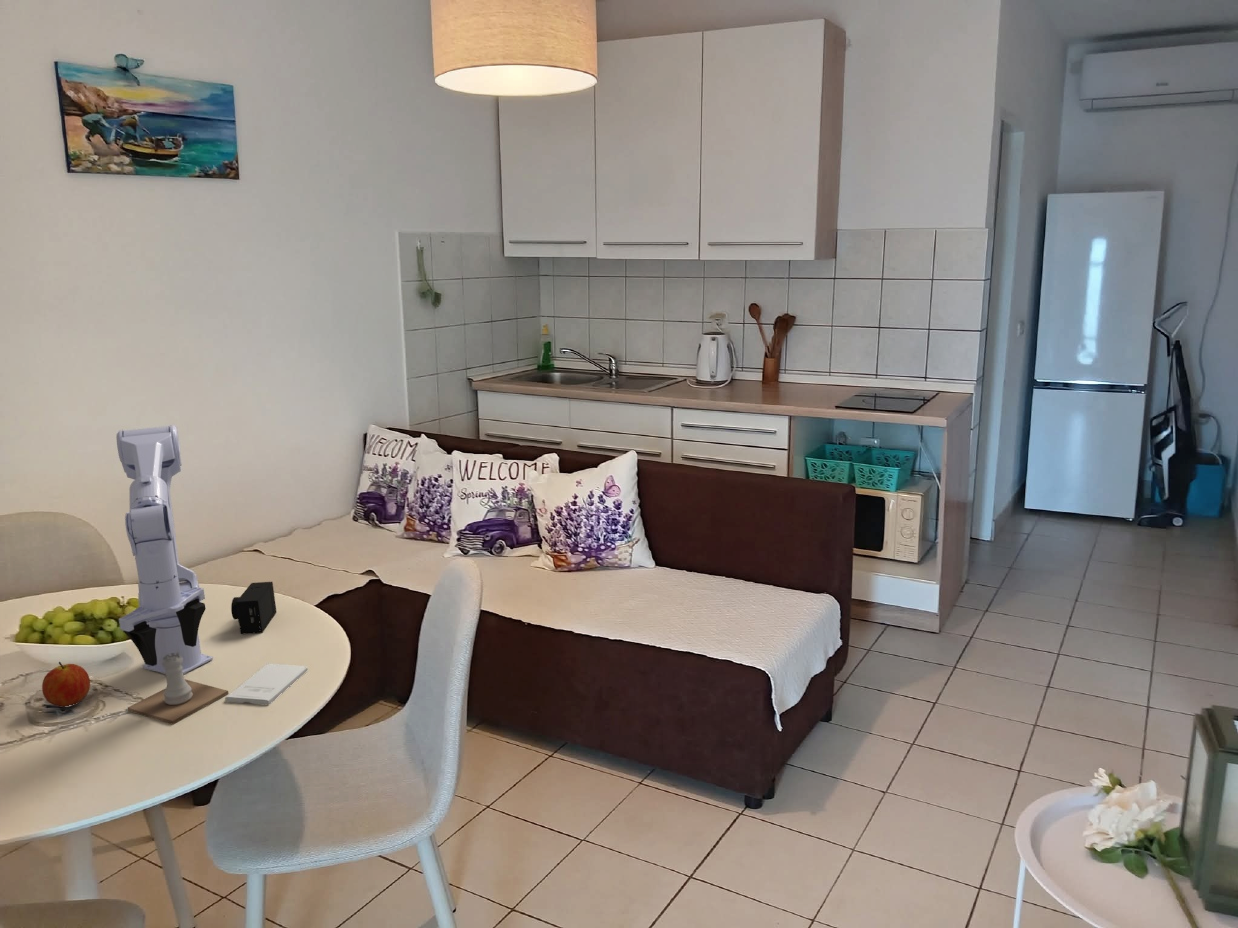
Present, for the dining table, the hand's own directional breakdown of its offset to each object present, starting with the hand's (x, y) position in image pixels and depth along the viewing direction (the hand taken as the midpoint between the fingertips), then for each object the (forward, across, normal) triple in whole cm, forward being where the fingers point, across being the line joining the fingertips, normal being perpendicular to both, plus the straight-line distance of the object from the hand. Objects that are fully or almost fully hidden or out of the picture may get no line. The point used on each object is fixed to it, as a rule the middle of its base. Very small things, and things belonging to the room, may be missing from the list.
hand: (171, 654), depth 156 cm
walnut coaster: (+9, 0, 0) cm, 9 cm away
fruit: (+9, -8, +17) cm, 21 cm away
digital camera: (+9, +29, +14) cm, 34 cm away
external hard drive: (+10, +10, -10) cm, 17 cm away
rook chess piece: (+8, 0, 0) cm, 8 cm away
